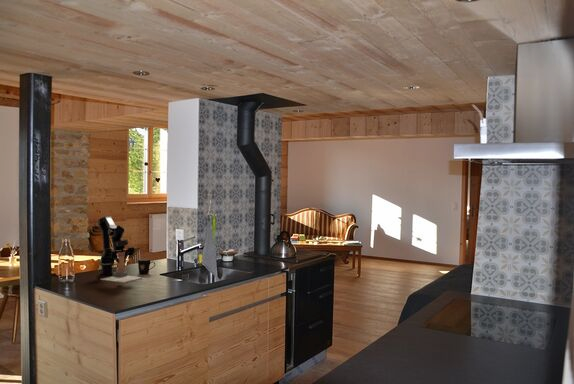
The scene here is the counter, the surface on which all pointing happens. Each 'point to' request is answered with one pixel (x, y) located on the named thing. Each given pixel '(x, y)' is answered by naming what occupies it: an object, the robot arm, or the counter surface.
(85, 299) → the counter surface
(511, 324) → the counter surface
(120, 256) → the marker
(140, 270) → the coffee mug
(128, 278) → the board
